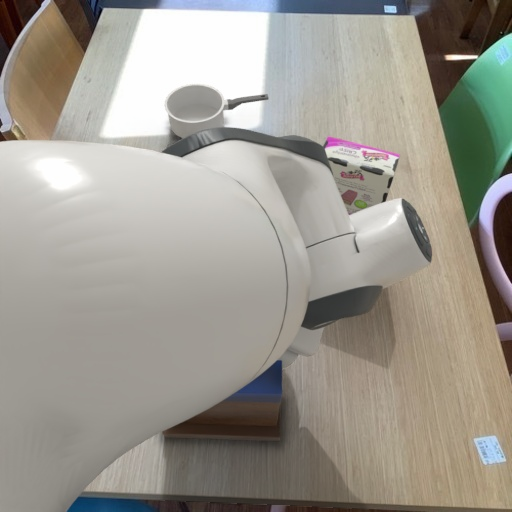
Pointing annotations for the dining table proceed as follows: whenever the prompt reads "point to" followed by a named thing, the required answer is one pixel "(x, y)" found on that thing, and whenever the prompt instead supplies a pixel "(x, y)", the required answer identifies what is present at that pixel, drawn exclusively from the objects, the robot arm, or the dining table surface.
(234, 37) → the dining table surface
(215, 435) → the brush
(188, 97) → the saucepan
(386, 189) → the candy bar box
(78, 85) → the dining table surface
